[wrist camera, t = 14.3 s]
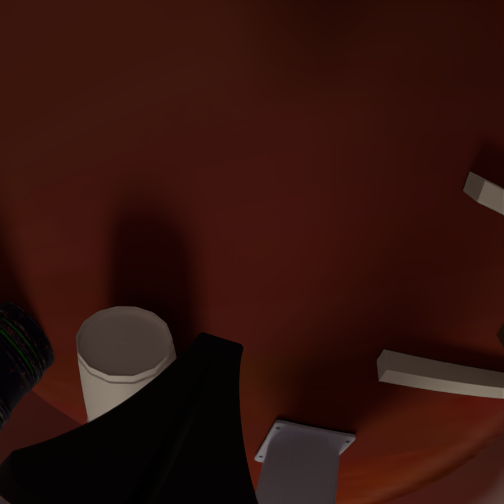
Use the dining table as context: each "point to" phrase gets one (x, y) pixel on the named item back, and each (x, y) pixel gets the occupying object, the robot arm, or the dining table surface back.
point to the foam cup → (120, 355)
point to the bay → (441, 373)
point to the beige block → (501, 335)
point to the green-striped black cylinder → (20, 357)
